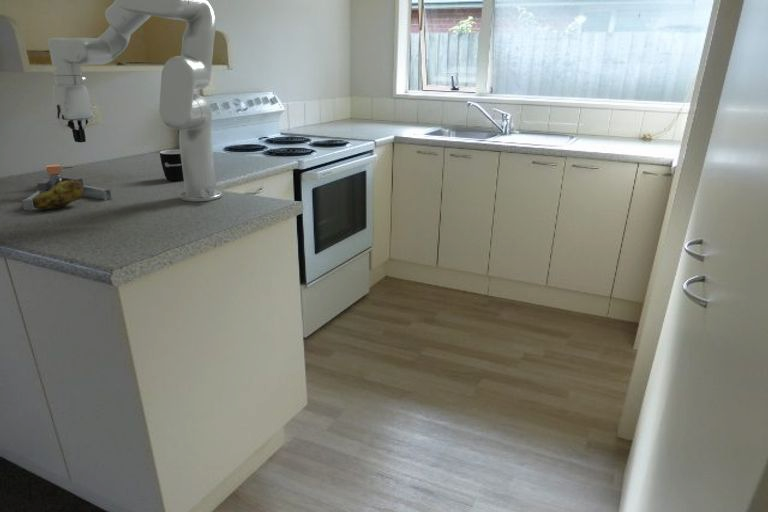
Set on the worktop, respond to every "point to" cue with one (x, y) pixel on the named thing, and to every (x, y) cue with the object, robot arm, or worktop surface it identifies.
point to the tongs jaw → (90, 189)
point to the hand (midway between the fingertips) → (80, 141)
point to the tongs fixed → (41, 190)
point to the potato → (59, 195)
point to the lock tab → (53, 169)
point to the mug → (172, 165)
